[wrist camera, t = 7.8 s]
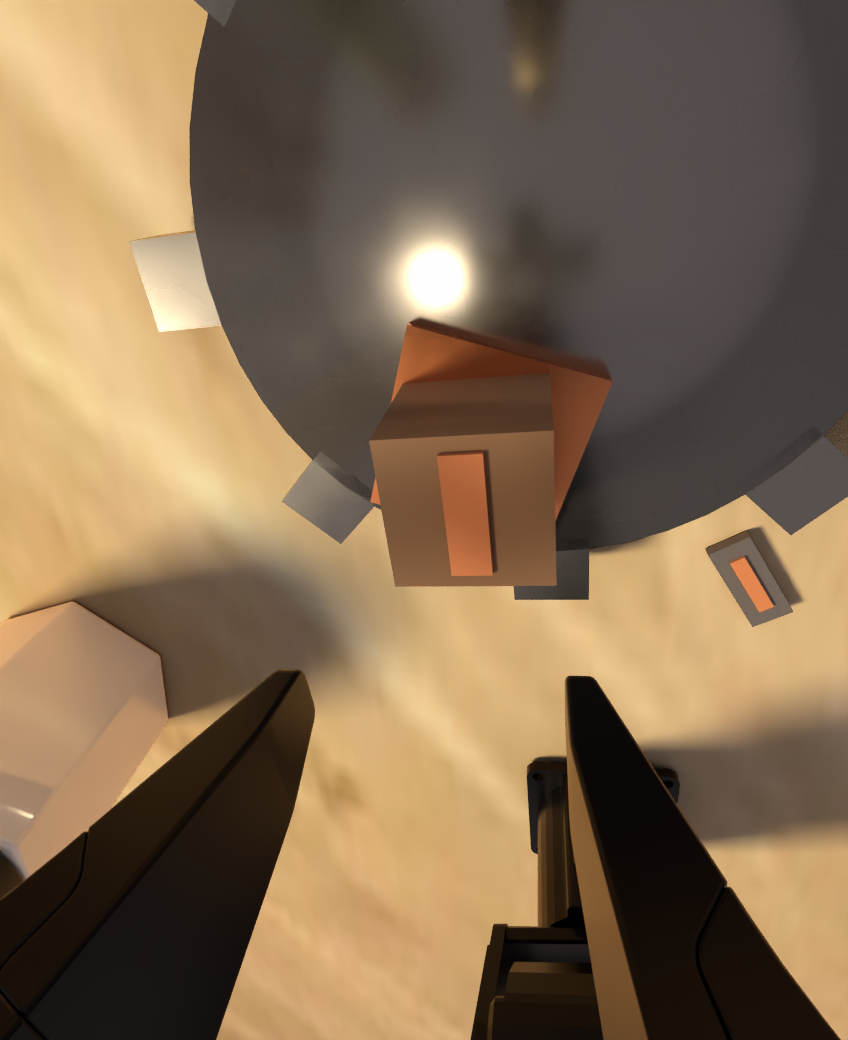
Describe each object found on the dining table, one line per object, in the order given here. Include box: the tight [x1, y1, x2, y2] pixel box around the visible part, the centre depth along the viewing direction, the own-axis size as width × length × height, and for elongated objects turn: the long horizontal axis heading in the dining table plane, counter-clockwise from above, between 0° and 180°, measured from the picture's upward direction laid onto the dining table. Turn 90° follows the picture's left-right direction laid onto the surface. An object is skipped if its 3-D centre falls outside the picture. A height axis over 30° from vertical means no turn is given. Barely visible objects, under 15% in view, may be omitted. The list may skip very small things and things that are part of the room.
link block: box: [369, 373, 557, 587], centre depth 16 cm, size 4×4×4 cm
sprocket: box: [129, 0, 848, 600], centre depth 13 cm, size 22×22×6 cm
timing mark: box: [706, 531, 793, 627], centre depth 21 cm, size 4×1×1 cm, turn 37°
